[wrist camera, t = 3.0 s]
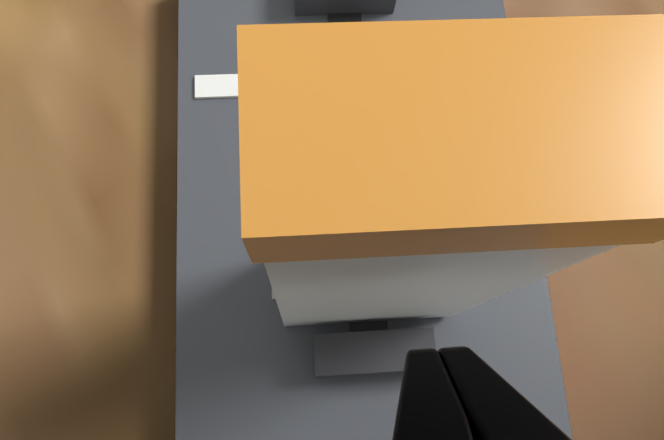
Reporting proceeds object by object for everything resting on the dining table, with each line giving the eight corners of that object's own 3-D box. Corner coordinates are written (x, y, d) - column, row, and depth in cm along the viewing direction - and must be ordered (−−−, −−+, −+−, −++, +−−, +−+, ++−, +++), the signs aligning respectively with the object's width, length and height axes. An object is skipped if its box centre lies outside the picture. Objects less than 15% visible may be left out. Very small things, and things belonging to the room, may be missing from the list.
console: (579, 591, 15) (620, 622, 13) (182, 627, 14) (164, 665, 12) (487, -16, 20) (507, -59, 18) (184, -9, 19) (171, -53, 17)
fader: (455, 320, 15) (725, 214, 6) (280, 330, 15) (241, 237, 5) (446, 238, 16) (676, 13, 6) (277, 247, 16) (237, 24, 6)
